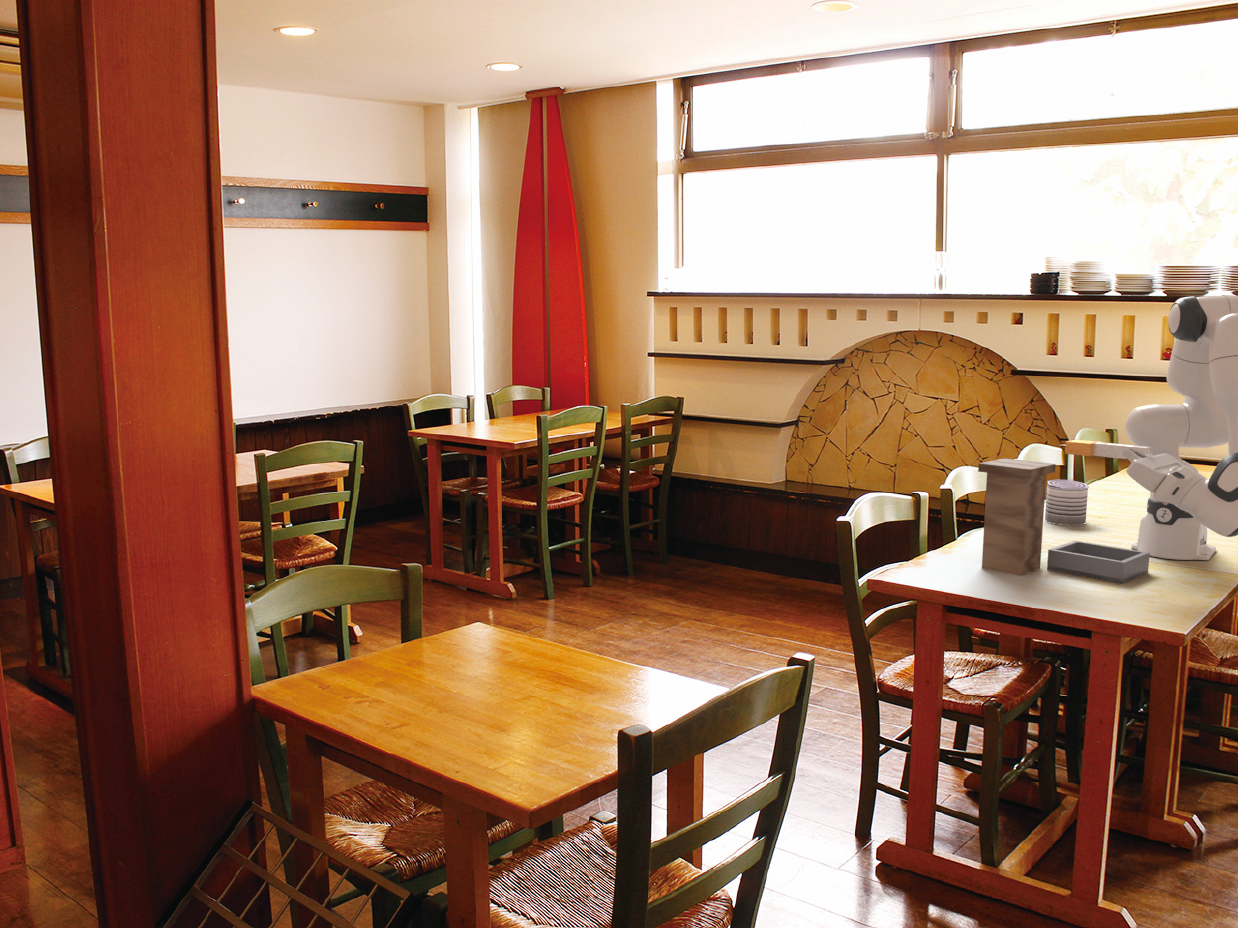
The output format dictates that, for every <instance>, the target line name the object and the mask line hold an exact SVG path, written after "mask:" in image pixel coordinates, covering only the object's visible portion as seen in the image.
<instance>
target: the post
mask: <svg viewBox="0 0 1238 928" xmlns="http://www.w3.org/2000/svg"><path fill="white" fill-rule="evenodd" d="M1056 466H1057V465H1056V463H1051V462H1040V461H1032V460H1024V459H1023V460H1022V459H1013V458H999V459H996V460H995V459H994V460H990V461H989V460H988V461H984V462H979V463H978V467H977V472H980V473H986V482H985V484H986V485H985V486H986V487H985V500H984V501H985V502H984V506H985V507H984V520H983V521H984V522H983V523H984V525H983V539H982V540H983V542H982V556H981V557H982V560H981V569H984V570H988V571H995V572H1000V573H1005V574H1009V575H1010V574H1011V575H1015V576H1019V577H1020V576H1021V577H1022V576H1024V575H1026V574H1029V573H1032V572H1035V571H1037V570H1040V569H1041V562H1042V559H1041V558H1042V548H1043V547H1042V546H1043V545H1042V543H1043V531H1044V530H1043V529H1044V527H1043V526H1044V516H1045V515H1044V512H1045V501H1046V485H1047V484H1046V482H1047V475H1049V474H1054V473H1056Z"/></svg>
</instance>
